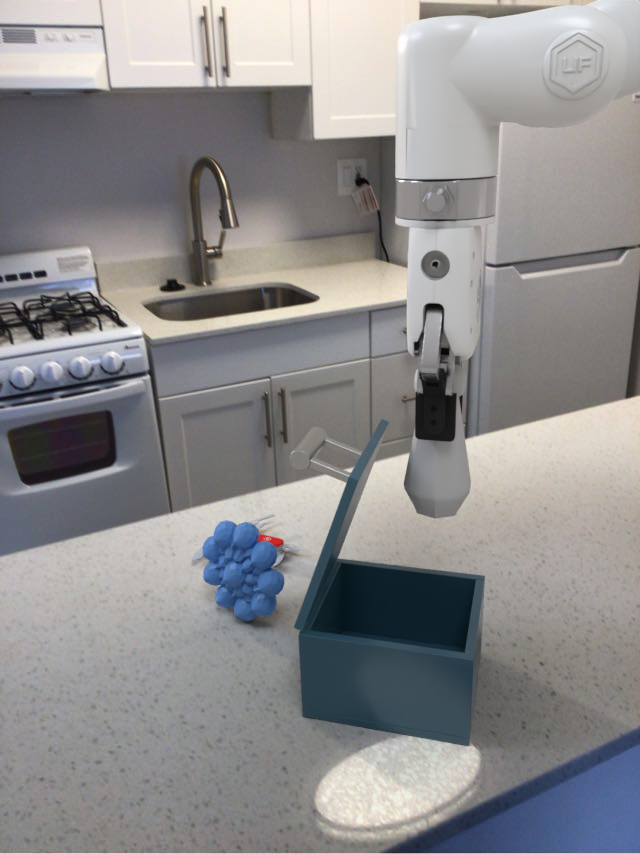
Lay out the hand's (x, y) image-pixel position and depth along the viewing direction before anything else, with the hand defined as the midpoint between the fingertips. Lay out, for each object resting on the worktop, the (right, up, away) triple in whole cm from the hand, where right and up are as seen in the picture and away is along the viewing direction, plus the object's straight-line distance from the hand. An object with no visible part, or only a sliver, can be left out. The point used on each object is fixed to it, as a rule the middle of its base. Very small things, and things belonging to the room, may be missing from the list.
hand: (439, 425), depth 64 cm
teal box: (-3, -24, +7) cm, 25 cm away
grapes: (-17, -21, +18) cm, 32 cm away
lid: (-8, -8, +2) cm, 12 cm away
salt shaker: (0, -7, +3) cm, 8 cm away
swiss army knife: (-18, -16, +31) cm, 39 cm away
